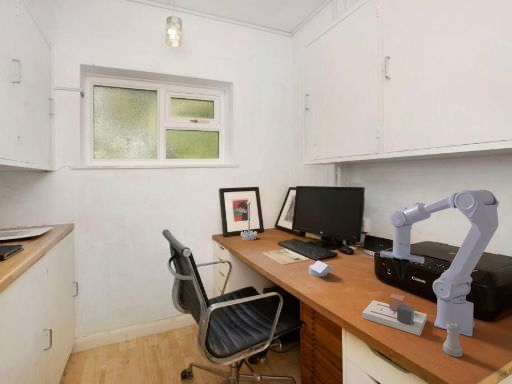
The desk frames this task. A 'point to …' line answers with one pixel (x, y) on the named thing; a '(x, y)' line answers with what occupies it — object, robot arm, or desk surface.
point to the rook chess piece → (452, 340)
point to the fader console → (393, 318)
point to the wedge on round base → (319, 269)
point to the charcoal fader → (405, 313)
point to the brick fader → (396, 301)
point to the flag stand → (250, 234)
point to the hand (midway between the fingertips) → (401, 278)
